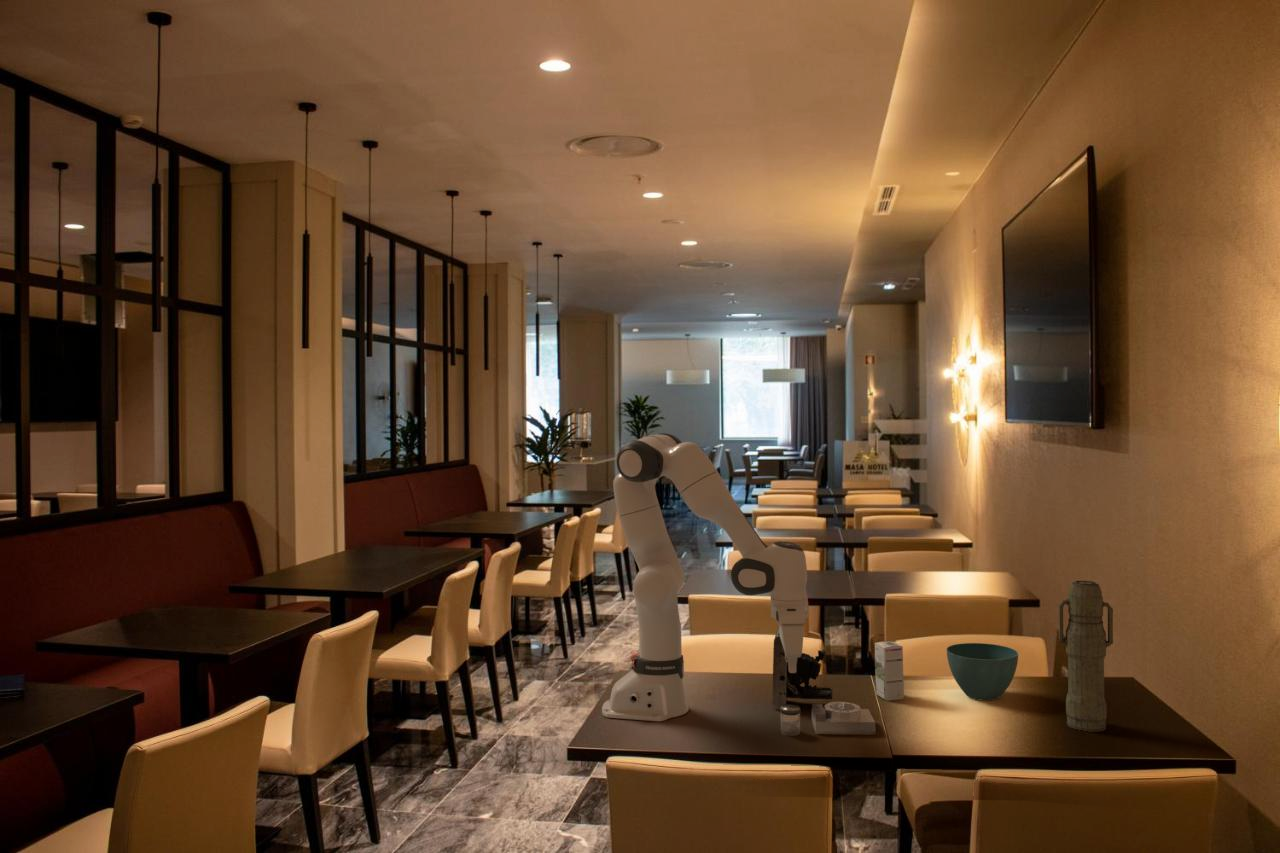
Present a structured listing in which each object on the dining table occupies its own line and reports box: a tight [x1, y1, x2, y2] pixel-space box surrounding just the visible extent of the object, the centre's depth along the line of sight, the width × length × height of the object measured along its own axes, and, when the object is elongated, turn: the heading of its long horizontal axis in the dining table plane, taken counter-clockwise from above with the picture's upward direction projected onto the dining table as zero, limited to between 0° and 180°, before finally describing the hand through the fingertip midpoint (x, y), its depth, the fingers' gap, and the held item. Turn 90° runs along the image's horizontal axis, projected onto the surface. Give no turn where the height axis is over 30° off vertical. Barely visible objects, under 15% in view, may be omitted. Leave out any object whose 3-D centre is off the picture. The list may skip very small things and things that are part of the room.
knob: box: [779, 704, 801, 737], centre depth 228 cm, size 5×5×6 cm
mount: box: [810, 701, 876, 736], centre depth 231 cm, size 14×10×5 cm
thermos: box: [1058, 580, 1114, 733], centre depth 229 cm, size 9×12×35 cm
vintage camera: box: [771, 628, 833, 711], centre depth 248 cm, size 10×16×20 cm, turn 79°
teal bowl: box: [946, 642, 1019, 701], centre depth 255 cm, size 18×18×12 cm
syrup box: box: [874, 640, 905, 702], centre depth 254 cm, size 6×6×14 cm
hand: (790, 667), depth 227 cm, fingers open, 8 cm apart
